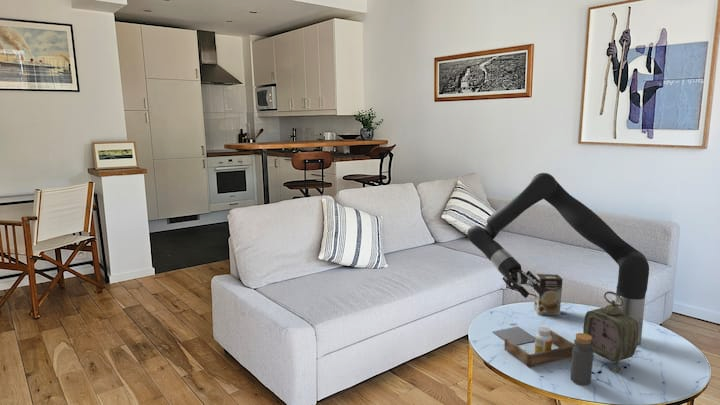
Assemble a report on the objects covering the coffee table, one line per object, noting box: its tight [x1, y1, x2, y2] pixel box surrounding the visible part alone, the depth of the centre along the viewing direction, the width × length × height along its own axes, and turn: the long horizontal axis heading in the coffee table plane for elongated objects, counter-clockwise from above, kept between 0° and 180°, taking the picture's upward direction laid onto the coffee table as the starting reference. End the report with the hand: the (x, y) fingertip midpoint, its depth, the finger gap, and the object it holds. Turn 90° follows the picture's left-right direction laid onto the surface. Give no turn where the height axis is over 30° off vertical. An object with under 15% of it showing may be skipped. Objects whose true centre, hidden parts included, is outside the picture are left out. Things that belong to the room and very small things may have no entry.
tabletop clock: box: [582, 290, 638, 373], centre depth 154 cm, size 14×9×25 cm, turn 23°
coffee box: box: [533, 273, 564, 316], centre depth 195 cm, size 9×6×16 cm
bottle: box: [570, 332, 594, 386], centre depth 145 cm, size 6×6×15 cm
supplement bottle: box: [534, 326, 553, 353], centre depth 161 cm, size 5×5×10 cm
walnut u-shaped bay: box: [504, 329, 575, 368], centre depth 163 cm, size 13×20×4 cm, turn 109°
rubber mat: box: [491, 326, 535, 346], centre depth 176 cm, size 12×12×1 cm
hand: (535, 294), depth 165 cm, fingers open, 8 cm apart
